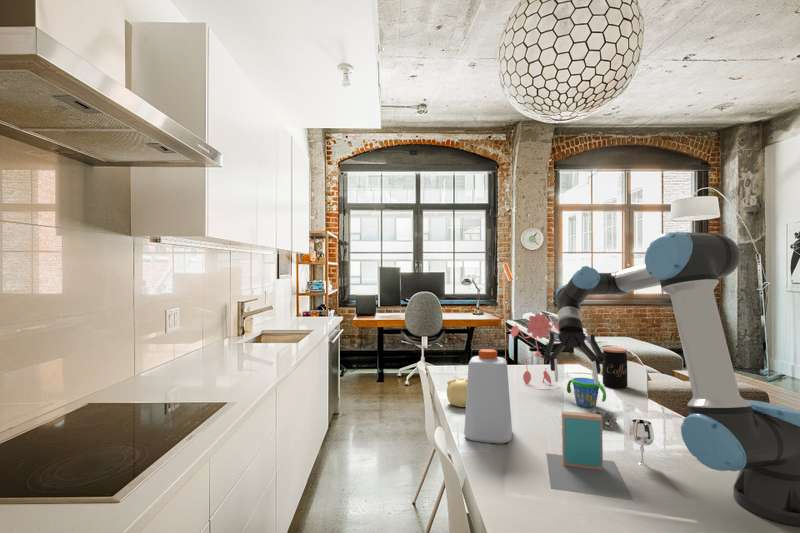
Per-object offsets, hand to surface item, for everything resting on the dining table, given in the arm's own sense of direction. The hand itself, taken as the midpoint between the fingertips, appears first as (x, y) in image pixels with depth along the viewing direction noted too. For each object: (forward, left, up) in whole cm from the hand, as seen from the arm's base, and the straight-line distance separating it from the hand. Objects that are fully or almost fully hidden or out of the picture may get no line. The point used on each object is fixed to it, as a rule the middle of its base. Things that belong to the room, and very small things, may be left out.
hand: (576, 380), depth 124 cm
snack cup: (+28, -41, -21) cm, 54 cm away
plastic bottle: (+23, +15, -21) cm, 35 cm away
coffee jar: (+41, -79, -21) cm, 92 cm away
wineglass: (-15, -8, -21) cm, 27 cm away
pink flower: (+59, -48, -21) cm, 79 cm away
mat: (-11, +11, -21) cm, 26 cm away
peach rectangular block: (-8, +8, -21) cm, 23 cm away
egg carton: (+11, -28, -22) cm, 37 cm away
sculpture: (+53, +4, -21) cm, 57 cm away
